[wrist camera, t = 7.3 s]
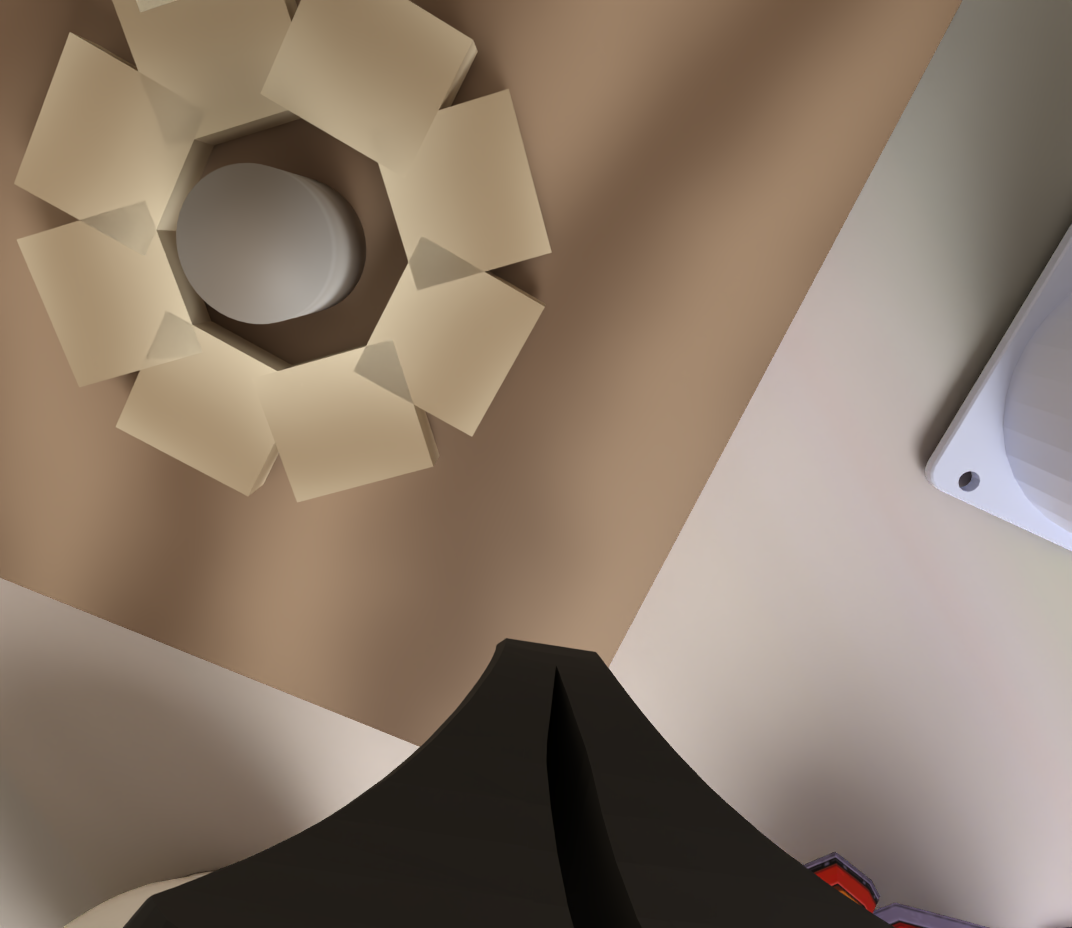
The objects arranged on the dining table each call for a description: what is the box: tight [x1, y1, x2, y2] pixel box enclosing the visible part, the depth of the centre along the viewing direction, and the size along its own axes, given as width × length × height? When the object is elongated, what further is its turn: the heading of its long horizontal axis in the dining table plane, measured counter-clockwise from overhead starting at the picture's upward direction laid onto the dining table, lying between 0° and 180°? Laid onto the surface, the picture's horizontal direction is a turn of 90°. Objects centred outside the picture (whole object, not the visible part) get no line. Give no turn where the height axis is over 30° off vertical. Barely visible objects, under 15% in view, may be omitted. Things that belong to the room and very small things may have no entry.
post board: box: [0, 0, 962, 746], centre depth 17 cm, size 22×22×4 cm
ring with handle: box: [14, 0, 552, 502], centre depth 15 cm, size 15×11×5 cm
